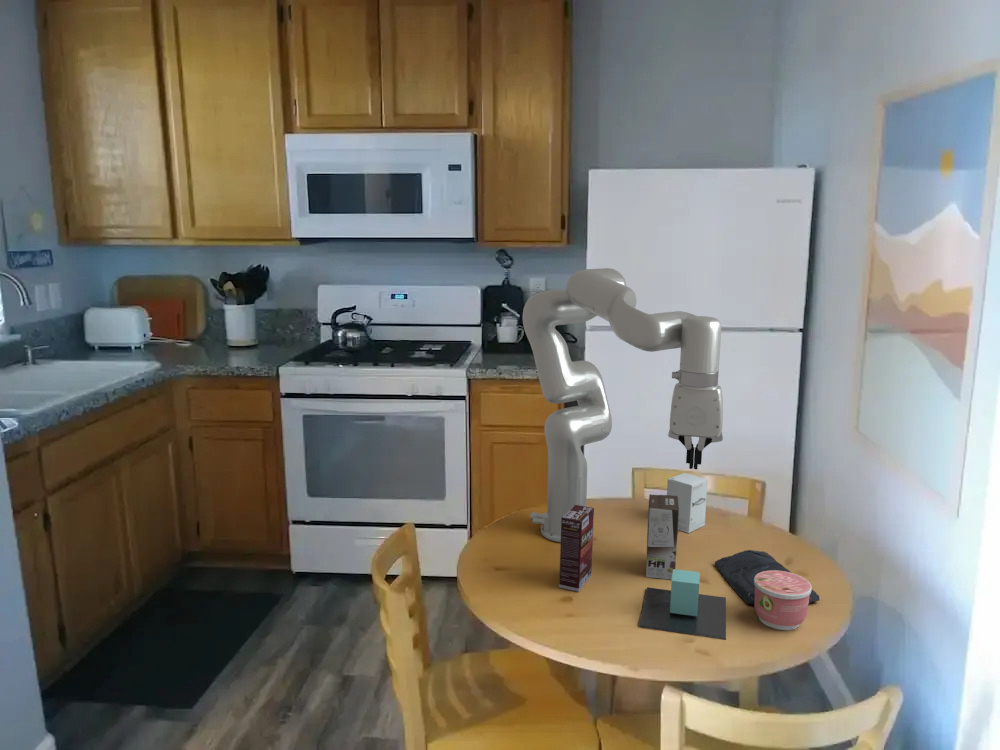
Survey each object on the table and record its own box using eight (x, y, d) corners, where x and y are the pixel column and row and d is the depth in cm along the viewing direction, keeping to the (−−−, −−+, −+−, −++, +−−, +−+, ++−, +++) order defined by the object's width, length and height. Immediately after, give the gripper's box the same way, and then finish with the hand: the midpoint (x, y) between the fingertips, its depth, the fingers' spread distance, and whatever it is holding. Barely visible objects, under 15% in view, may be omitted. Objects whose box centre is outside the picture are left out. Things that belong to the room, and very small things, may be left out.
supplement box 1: (579, 593, 164) (581, 521, 161) (558, 588, 166) (559, 517, 163) (593, 575, 172) (595, 507, 168) (572, 571, 174) (573, 503, 170)
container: (744, 606, 159) (747, 569, 157) (797, 606, 158) (800, 570, 157) (760, 633, 148) (763, 594, 147) (816, 634, 148) (820, 595, 146)
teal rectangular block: (669, 612, 154) (671, 580, 153) (671, 600, 159) (673, 569, 157) (697, 616, 153) (699, 584, 151) (697, 603, 158) (699, 572, 156)
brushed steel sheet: (639, 627, 151) (640, 593, 149) (647, 589, 166) (648, 558, 164) (725, 639, 146) (728, 604, 145) (725, 599, 161) (728, 567, 160)
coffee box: (675, 580, 170) (679, 510, 166) (645, 577, 171) (648, 507, 167) (675, 562, 178) (678, 495, 175) (646, 559, 180) (649, 492, 176)
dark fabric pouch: (773, 560, 180) (775, 540, 179) (824, 606, 158) (827, 584, 158) (709, 563, 178) (710, 543, 177) (752, 610, 156) (754, 588, 156)
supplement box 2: (689, 534, 194) (691, 485, 191) (664, 525, 199) (666, 478, 197) (705, 526, 199) (708, 478, 196) (681, 517, 204) (683, 471, 201)
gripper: (658, 380, 154) (654, 469, 158) (738, 385, 150) (731, 476, 154) (661, 373, 162) (657, 458, 165) (737, 377, 158) (731, 464, 161)
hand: (693, 467), depth 160 cm, fingers closed
